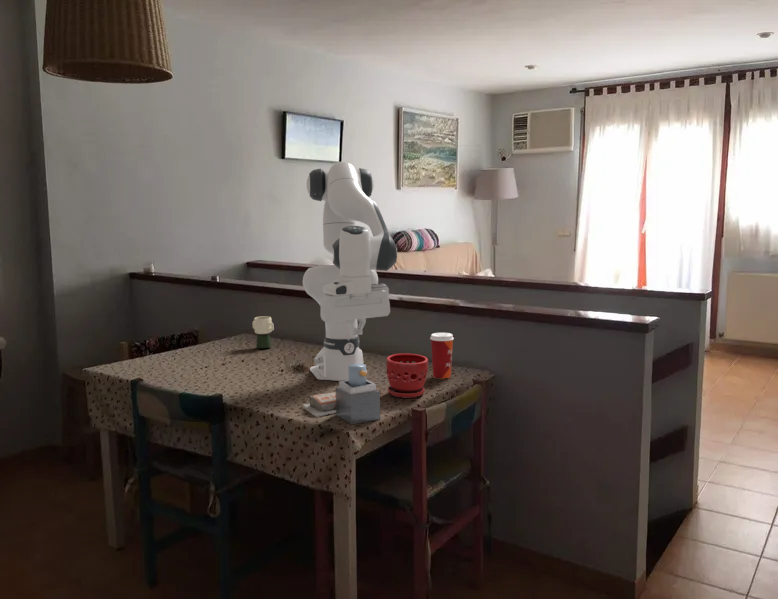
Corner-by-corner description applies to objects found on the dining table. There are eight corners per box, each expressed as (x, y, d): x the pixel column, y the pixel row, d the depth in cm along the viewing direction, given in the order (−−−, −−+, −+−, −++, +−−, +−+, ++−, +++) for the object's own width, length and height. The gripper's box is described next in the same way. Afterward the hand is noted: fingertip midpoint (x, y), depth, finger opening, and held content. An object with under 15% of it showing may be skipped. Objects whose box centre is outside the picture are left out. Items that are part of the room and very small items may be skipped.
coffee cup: (455, 379, 230) (455, 336, 227) (431, 380, 229) (431, 337, 227) (451, 373, 238) (451, 331, 236) (428, 374, 237) (428, 332, 235)
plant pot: (385, 400, 207) (385, 362, 205) (387, 388, 220) (387, 352, 218) (428, 400, 206) (428, 362, 204) (427, 388, 219) (427, 352, 217)
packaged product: (356, 385, 208) (371, 392, 200) (356, 400, 209) (371, 408, 201) (302, 393, 199) (315, 402, 191) (302, 409, 200) (316, 418, 192)
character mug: (279, 347, 282) (278, 317, 280) (268, 351, 276) (267, 320, 274) (259, 345, 287) (257, 315, 285) (248, 348, 281) (246, 318, 279)
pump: (345, 388, 191) (345, 364, 190) (361, 386, 193) (361, 362, 192) (356, 394, 185) (356, 370, 184) (372, 392, 187) (372, 367, 186)
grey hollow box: (336, 414, 193) (335, 381, 192) (364, 409, 198) (363, 376, 196) (351, 424, 185) (350, 389, 183) (380, 419, 189) (379, 384, 188)
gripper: (383, 281, 193) (383, 328, 196) (317, 287, 184) (318, 336, 186) (394, 284, 188) (394, 332, 190) (326, 289, 178) (328, 340, 180)
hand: (356, 334), depth 188 cm, fingers closed
